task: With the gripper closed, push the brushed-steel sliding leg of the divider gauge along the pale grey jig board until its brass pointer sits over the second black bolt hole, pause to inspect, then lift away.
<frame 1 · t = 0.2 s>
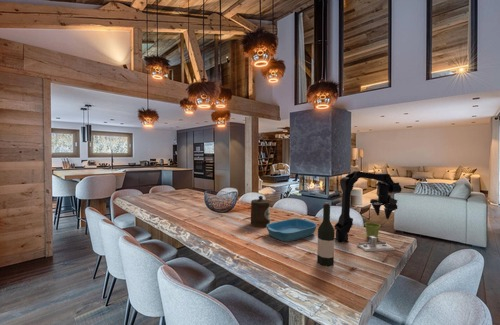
hand: (382, 217, 151), 14 cm above the table, fingers open, 9 cm apart
wine bottle: (325, 263, 117), on the table
wooden container: (260, 224, 180), on the table
plant pot: (372, 238, 154), on the table
casserole dish: (291, 235, 158), on the table
slider: (373, 241, 136), point 4 cm above the table, slide at 0.0 cm
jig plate: (375, 247, 137), on the table
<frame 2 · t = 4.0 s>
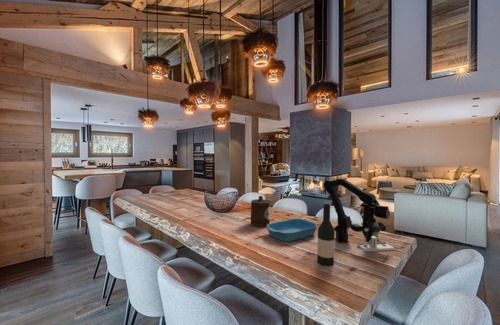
hand: (367, 242, 136), 4 cm above the table, fingers closed
slider: (373, 241, 136), point 4 cm above the table, slide at 0.2 cm, touching gripper
everything else where it was.
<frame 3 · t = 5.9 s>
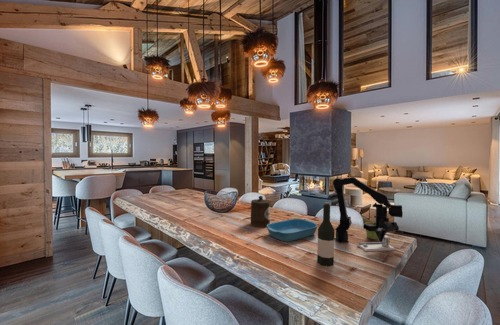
hand: (380, 241, 137), 4 cm above the table, fingers closed
slider: (386, 240, 137), point 4 cm above the table, slide at 8.3 cm, touching gripper
everything else where it was.
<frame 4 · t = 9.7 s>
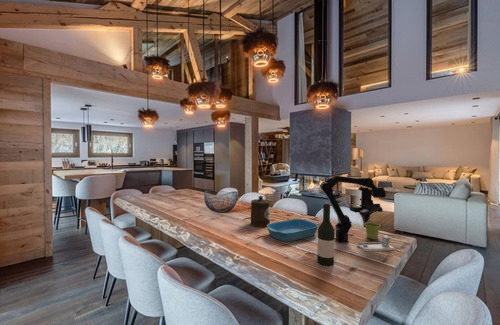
hand: (365, 222, 146), 12 cm above the table, fingers closed
slider: (386, 240, 137), point 4 cm above the table, slide at 8.3 cm
everything else where it was.
at the end: slider slide at 8.3 cm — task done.
